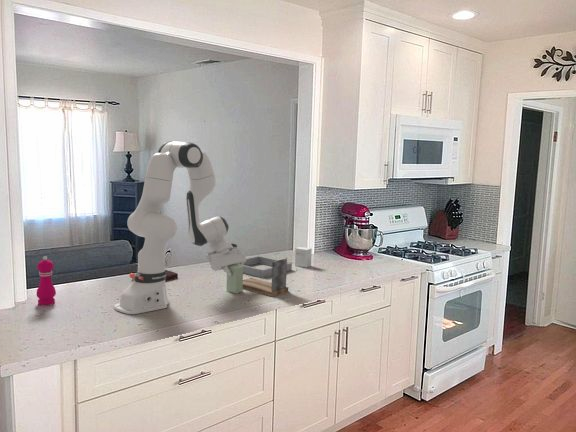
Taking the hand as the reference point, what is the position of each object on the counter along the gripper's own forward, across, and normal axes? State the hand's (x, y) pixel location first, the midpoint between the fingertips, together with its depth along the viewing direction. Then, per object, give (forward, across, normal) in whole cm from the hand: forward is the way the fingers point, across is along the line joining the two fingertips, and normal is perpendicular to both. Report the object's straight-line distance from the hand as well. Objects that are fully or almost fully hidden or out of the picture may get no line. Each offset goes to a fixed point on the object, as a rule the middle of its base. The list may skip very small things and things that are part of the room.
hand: (235, 274), depth 233 cm
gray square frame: (-8, +40, +20) cm, 45 cm away
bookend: (+10, +12, +2) cm, 16 cm away
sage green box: (+6, 0, +6) cm, 8 cm away
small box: (0, +65, +12) cm, 66 cm away
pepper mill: (-24, -68, +36) cm, 81 cm away
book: (-24, -14, +37) cm, 46 cm away
